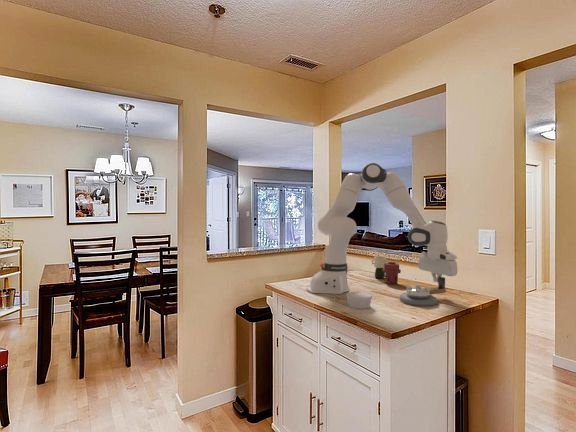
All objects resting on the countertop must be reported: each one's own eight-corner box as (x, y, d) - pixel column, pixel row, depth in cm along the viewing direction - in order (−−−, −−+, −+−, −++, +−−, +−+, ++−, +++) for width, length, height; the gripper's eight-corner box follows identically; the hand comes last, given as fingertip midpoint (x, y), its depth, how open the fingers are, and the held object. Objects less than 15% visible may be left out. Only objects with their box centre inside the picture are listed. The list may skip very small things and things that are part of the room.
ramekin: (353, 301, 157) (353, 290, 157) (376, 306, 150) (376, 294, 150) (341, 306, 149) (341, 294, 149) (364, 312, 142) (364, 299, 141)
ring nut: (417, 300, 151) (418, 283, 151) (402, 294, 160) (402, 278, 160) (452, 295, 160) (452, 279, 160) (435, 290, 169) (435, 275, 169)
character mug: (390, 278, 209) (390, 257, 209) (386, 280, 204) (386, 258, 203) (373, 275, 216) (373, 255, 215) (369, 277, 210) (369, 256, 209)
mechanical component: (381, 281, 200) (398, 281, 199) (384, 285, 190) (402, 285, 189) (381, 260, 200) (398, 260, 199) (384, 263, 190) (402, 263, 189)
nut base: (409, 306, 149) (409, 301, 149) (394, 297, 165) (394, 292, 165) (443, 306, 151) (443, 301, 151) (425, 296, 167) (425, 292, 166)
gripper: (415, 251, 174) (415, 278, 174) (450, 257, 156) (449, 287, 156) (424, 250, 177) (424, 277, 177) (459, 256, 158) (459, 285, 159)
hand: (436, 281), depth 167 cm, fingers closed
